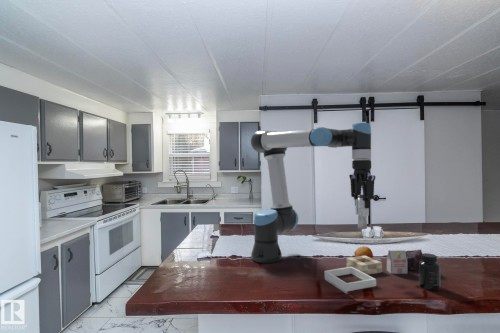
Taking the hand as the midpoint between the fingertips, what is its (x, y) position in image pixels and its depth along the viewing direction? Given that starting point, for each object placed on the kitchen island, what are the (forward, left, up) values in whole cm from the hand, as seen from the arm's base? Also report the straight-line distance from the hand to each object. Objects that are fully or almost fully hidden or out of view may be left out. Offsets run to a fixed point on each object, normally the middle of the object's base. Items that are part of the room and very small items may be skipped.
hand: (362, 214), depth 123 cm
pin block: (0, +1, -24) cm, 24 cm away
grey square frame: (+8, -13, -24) cm, 29 cm away
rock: (+5, +21, -25) cm, 33 cm away
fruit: (-11, +10, -25) cm, 29 cm away
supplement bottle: (+21, +13, -25) cm, 35 cm away
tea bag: (+7, +12, -25) cm, 28 cm away
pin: (0, 0, -6) cm, 6 cm away
